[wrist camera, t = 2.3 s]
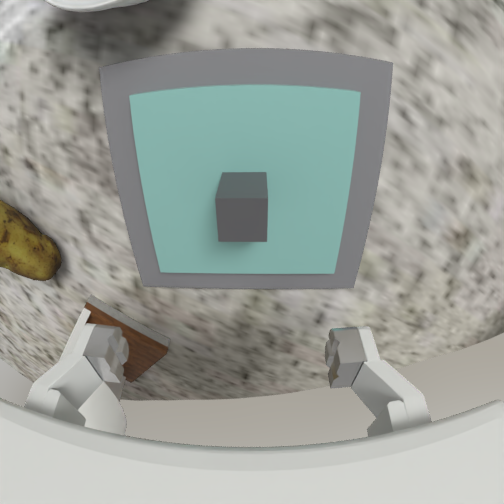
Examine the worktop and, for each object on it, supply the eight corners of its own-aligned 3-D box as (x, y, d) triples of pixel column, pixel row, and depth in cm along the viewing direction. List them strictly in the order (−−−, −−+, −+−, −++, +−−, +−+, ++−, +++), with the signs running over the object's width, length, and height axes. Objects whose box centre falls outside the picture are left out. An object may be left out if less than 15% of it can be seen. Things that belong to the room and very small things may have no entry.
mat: (389, 62, 16) (393, 62, 16) (352, 283, 28) (353, 287, 28) (103, 66, 16) (99, 67, 16) (145, 282, 28) (143, 286, 28)
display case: (134, 370, 39) (95, 591, 11) (70, 335, 35) (6, 561, 7) (170, 339, 34) (129, 626, 6) (90, 294, 30) (6, 593, 2)
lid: (356, 90, 17) (383, 102, 13) (332, 267, 26) (343, 307, 22) (133, 94, 17) (102, 106, 14) (162, 266, 26) (148, 305, 22)
